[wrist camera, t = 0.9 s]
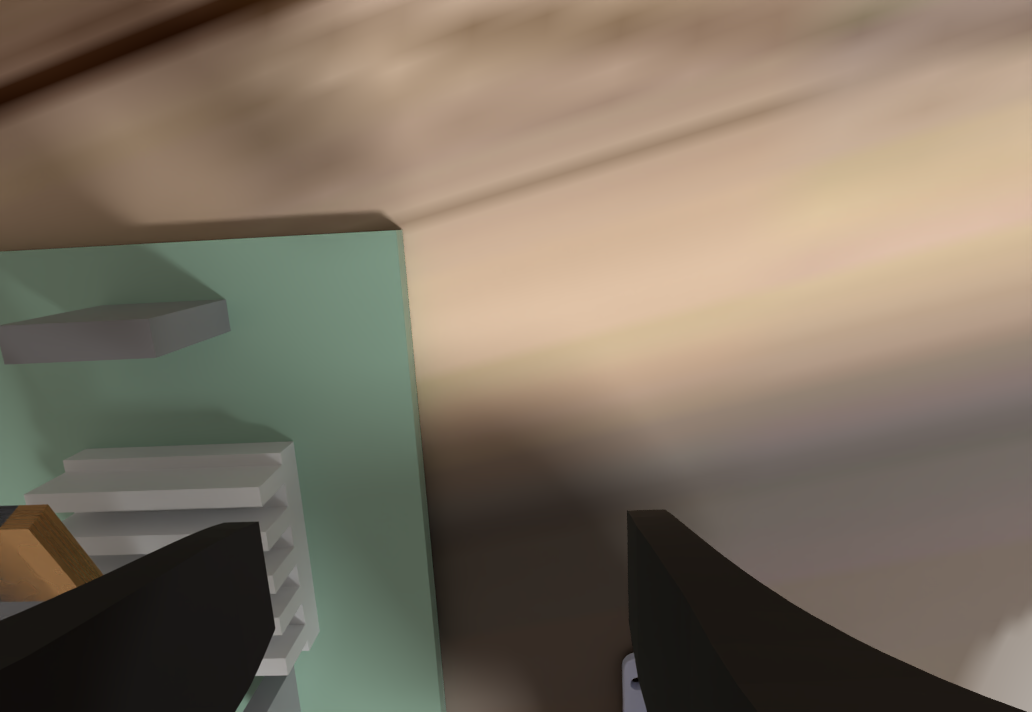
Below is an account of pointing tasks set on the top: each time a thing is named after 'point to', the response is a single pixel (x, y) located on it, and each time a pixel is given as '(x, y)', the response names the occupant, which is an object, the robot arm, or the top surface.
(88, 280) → the heatsink board
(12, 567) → the brown and grey bar
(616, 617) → the top surface
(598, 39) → the top surface
